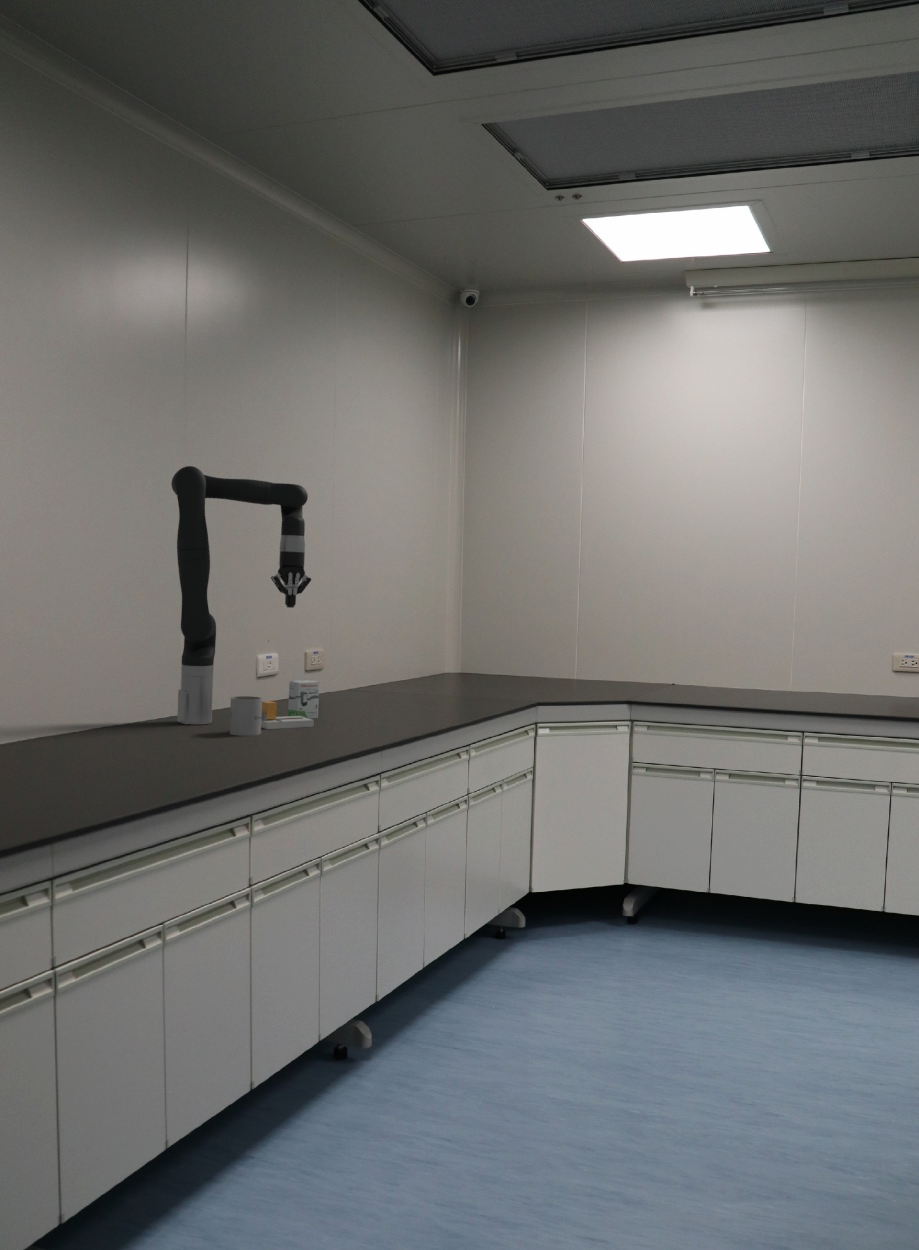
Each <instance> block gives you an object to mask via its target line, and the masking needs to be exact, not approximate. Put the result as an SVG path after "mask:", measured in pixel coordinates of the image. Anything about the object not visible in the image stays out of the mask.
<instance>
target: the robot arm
mask: <svg viewBox="0 0 919 1250" xmlns="http://www.w3.org/2000/svg"><path fill="white" fill-rule="evenodd" d="M171 479H172V480H171V484H170V485H171V489H172V491H173V492H174V494H175V495H176V498H177V503H178V504H177V505H178V514H179V515H178V516H179V517H178V518H179V520H178V528H177V538H176V554H177V566H178V577H179V585H180V592H181V613H180V630H181V634H182V635H183V637H184V641H183V650H182V654H181V669H180V671H181V672H180V673H181V674H180V689H178V690H177V691H178V692H177V719H176V721H177V722H178V723H179V724H183V725H207V724H212V723H213V721H212V720H213V695H214V694H213V693H214V664H215V663H214V661H215V656H216V655H215V654H216V643H217V642H216V641H217V624H216V623H217V622H216V619H215V618H214V616H213V615H212V614H211V613H210V610H209V601H208V587H209V580H210V571H211V554H210V544H209V543H210V542H209V534H208V533H209V532H208V527H207V520H206V499H219V500H228V501H236V502H241V503H248V504H255V505H256V504H257V505H264V506H269V505H270V506H271V505H277V506H280V514H281V527H280V528H281V531H280V532H281V533H280V543H279V561H278V564H279V565H278V566H279V568H278V570H277V573H276V574H275V575H271V577H270V579H271V581H272V582H273V584H274V585H275V587H276V589H277V590H278V591H279V593H281V594H283V595H284V596H285V597H284V600H285V601H284V604H285V606H286V608H288V609H289V608H295V606H296V604H297V603H296V602H297V601H296V600H297V595H299V594H302V593H303V592H304V590H305V589H307V587H308V586H309V584H310V583H311V581H312V578H311V577H309V576H307V574H306V571H305V558H306V557H305V550H306V549H305V548H306V543H305V540H306V539H305V531H306V528H305V527H306V524H305V519H304V518H303V507H304V505H306V503H307V502H308V498H309V494H308V492H307V490H306V488H305V487H303V486H302V485H299V484H296V483H295V484H294V483H282V482H280V483H279V482H270V481H266V480H258V479H248V478H247V479H246V478H222V477H216V476H211V475H210V476H209V475H206V474H204V473H203V471H202V470H201V469H199V468H197V467H196V466H192V465H188V466H183V467H181V468H180V469H178V470H177V471H176V472H175V473H174V475H173V476H172V478H171ZM282 582H283V583H282Z"/></svg>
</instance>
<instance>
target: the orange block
mask: <svg viewBox="0 0 919 1250" xmlns="http://www.w3.org/2000/svg"><path fill="white" fill-rule="evenodd" d="M277 707H278V706H277V702H275V701H271V700H270V701H269V700H266V701H263V700H262V713H265V714H267V719H276V717H277Z"/></svg>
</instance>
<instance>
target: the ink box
mask: <svg viewBox="0 0 919 1250" xmlns="http://www.w3.org/2000/svg"><path fill="white" fill-rule="evenodd" d="M319 696H320V682H319V681H318V680H312V679H304V680H303V679H300V680H299V679H298V680H290V681H289V684H288V706H287V707H288V708H287V716H301V717H305V718H308V719H312V720H313V719H318V718H319V701H320V700H319V698H320V697H319Z"/></svg>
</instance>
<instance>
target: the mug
mask: <svg viewBox="0 0 919 1250" xmlns="http://www.w3.org/2000/svg"><path fill="white" fill-rule="evenodd" d="M262 702H263V698H262V697H260V696H254V695H253V696H250V695H246V696H245V695H243V696H241V695H239V696H237V695H236V696H231V697H230V707H229V708H230V709H229V710H230V711H229V713H230V714H229V716H230V717H229V734H230V735H231V736H232V735H233V736H238V737H239V736H240V737H242V736H243V737H248V736H249V737H250V736H251V737H252V736H260V735H261V734H262V727H261V714H262Z"/></svg>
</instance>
